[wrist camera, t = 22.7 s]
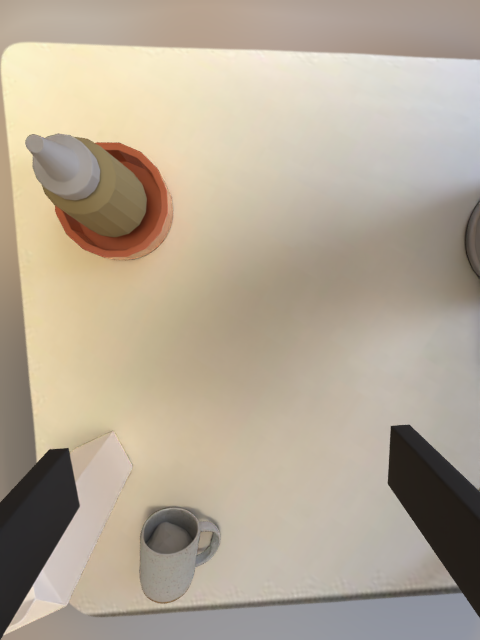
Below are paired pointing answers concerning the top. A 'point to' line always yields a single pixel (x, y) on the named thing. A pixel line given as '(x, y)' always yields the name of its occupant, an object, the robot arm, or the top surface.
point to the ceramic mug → (172, 552)
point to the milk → (78, 526)
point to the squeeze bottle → (88, 183)
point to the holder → (152, 223)
